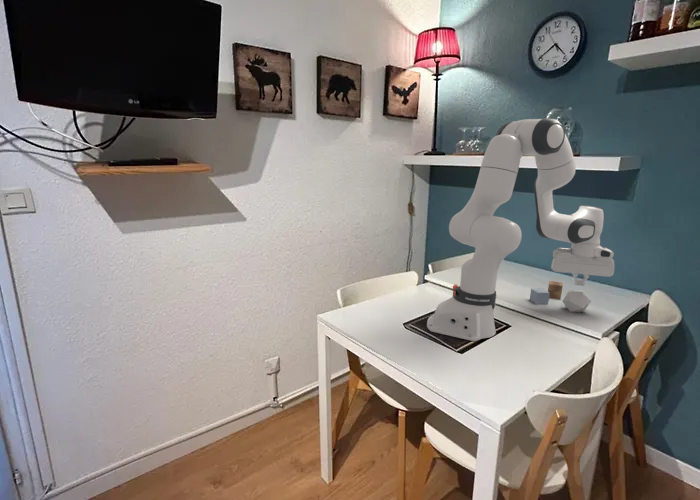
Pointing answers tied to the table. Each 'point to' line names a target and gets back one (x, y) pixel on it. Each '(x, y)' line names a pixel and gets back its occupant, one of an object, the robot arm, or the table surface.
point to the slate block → (539, 296)
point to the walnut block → (555, 289)
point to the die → (576, 301)
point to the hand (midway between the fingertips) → (579, 284)
